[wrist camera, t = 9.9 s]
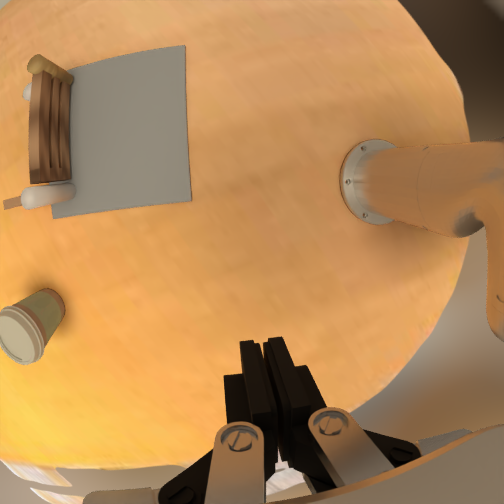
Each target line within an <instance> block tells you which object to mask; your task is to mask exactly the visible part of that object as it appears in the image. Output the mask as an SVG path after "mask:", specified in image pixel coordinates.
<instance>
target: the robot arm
mask: <svg viewBox="0 0 504 504" xmlns="http://www.w3.org/2000/svg"><path fill="white" fill-rule="evenodd" d="M361 148H362V150H361ZM345 180H346V181H347V182H346V183H345ZM340 186H341V193H342V196H343V199H344V201H345V203H346V205H347V207H348V208H349V209H350V211H351V212H352V213H353V214H354V215H355V216H356V217H357V218H359V219H361V220H362V221H364V222H367V223H370V224H375V225H384V224H387V223H391V222H392V221H394V220H397V221H400V222H404V223H407V224H410V225H413V226H417V227H420V228H423V229H426V230H429V231H432V232H435V233H438V234H442V235H445V236H448V237H453V238H462V237H467V236H470V235H472V234H474V233H475V232H477V231H479V230H480V229H481V228H482V227H484V226H485V229H486V238H487V250H488V273H487V299H486V300H487V301H486V313H487V320H488V323H489V326H490V328H491V330H492V332H493V333H494V334H495V335H496V337H498V338H499V339H500V340H501V341H503V342H504V137H501V138H497V139H492V140H486V141H480V142H471V143H459V144H442V145H426V146H412V147H400V148H398V147H396V146H395V145H393V144H392V143H390V142H388V141H385V140H380V139H372V140H367V141H364V142H361V143H359V144H358V145H356V146H355V147H354V148H353V149H352V150H351V151H350V152H349V153H348V155H347V156H346V158H345V160H344V162H343V165H342V168H341V174H340ZM363 214H364V215H363ZM240 354H241V364H242V374H233V375H224V389H225V403H226V416H227V425H225V426H223V427H222V428H221V429H220V430H219V431H218V432H217V434H216V437H215V442H214V448H213V449H212V450H211V451H209V452H208V453H207V454H206V455H204V456H203V457H202V458H200V459H199V460H198V461H197V462H195V463H194V464H193V465H191V466H190V467H189V468H187V469H186V470H185V471H183V472H182V473H180V474H179V475H178V476H176V477H175V478H173V479H172V480H171V481H169V482H168V483H166V484H165V485H164V486H163V487H162V488H161V489H153V490H152V488H151V487H149V488H139V489H127V490H110V491H95V492H91V493H90V494H88V495H87V496H86V497H85V498H84V500H83V504H504V424H498V425H494V426H489V427H486V428H482V429H480V430H477V431H474V432H472V431H470V430H467V429H460V430H456V431H452V432H449V433H446V434H442V435H438V436H434V437H430V438H426V439H422V440H418V441H417V442H416V443H415V444H413V443H410V442H408V441H404V440H400V439H396V438H393V437H389V436H385V435H381V434H378V433H374V432H371V431H367V430H364V429H362V428H361V427H360V426H359V424H358V423H357V422H356V421H355V420H354V418H353V417H352V416H351V415H350V414H349V413H348V412H347V411H345V410H343V409H340V408H335V407H328V408H327V406H326V404H325V402H324V400H323V398H322V396H321V393H320V391H319V389H318V387H317V385H316V383H315V381H314V379H313V377H312V375H311V373H310V371H309V368H308V367H307V366H306V365H302V366H296V367H295V366H294V363H293V361H292V358H291V356H290V354H289V351H288V349H287V347H286V344H285V342H284V339H283V337H274V338H268V342H263V354H264V358H263V355H262V351H261V347H260V344H259V343H254V341H253V340H248V341H240ZM278 449H279V453H280V456H281V460H282V462H284V461H287V462H288V466H289V468H294V469H295V470H297V471H299V472H302V475H303V478H304V480H305V482H306V484H307V486H308V488H309V489H310V491H311V493H312V495H308V496H303V497H298V498H293V499H287V500H282V501H275V502H269V503H266V481H267V480H268V479H269V478H270V477H271V476H272V475H273V474H274V473H275V463H277V462H278Z"/></svg>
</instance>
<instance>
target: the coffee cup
mask: <svg viewBox="0 0 504 504" xmlns="http://www.w3.org/2000/svg"><path fill="white" fill-rule="evenodd" d="M64 314H65V306H64V303H63V301H62V299H61V297H60V296H59V295H58V294H57V293H56V292H55V291H53V290H51V289H43V290H41V291H39V292H37V293H35V294H33V295H31V296H29V297H27V298H25V299H23V300H21V301H19V302H18V303H16V304H14V305H12V306H7V307H4V308H3V309H2V310H1V312H0V346H1V348H2V349H3V351H4V352H5V353H6V354H7V355H8V356H9V357H10V358H11V359H12V360H14V361H15V362H17V363H19V364H22V365H28V364H31V363H34V362H36V361H38V360H39V359H40V358H41V357H42V356H43V353H44V348H45V346H46V345H47V343H48V341H49V340H50V338H51V336H52V335H53V333H54V331H55V330H56V328H57V327H58V325H59V323H60V322H61V320H62V318H63V317H64Z"/></svg>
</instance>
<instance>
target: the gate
mask: <svg viewBox="0 0 504 504" xmlns="http://www.w3.org/2000/svg"><path fill="white" fill-rule="evenodd" d="M27 70H28V72H30V73H32V74H33V77H32V85H31V96H30V111H29V170H30V184H39V183H49V182H59V181H65V180H70V179H71V176H70V160H69V96H70V85H71V83H72V81H73V76H72V75H71V74H70V73H68V72H67V71H65V70H64V69H62V68H61V67H59V66H58V65H56V64H54V63H53V62H51V61H50V60H48V59H46V58H45V57H43V56H42V55H40V54H37V55H35V56H33V57H32V58H31V59H30V61H29V63H28V65H27Z"/></svg>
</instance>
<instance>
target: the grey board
mask: <svg viewBox="0 0 504 504" xmlns="http://www.w3.org/2000/svg"><path fill="white" fill-rule="evenodd" d="M67 72H68V73H70V74H71V75H72V76H73V81H72V83H71V85H70V96H69V160H70V176H71V179H70V180H65V181H59V182H49V185H44V186H36V187H28V188H25V189H24V190H23V192H22V194H21V196H19V197H15V198H11V199H7V200H4V201H3V204H4V210H6V209H10V208H14V207H18V206H23V207H24V208H25V209H28V210H29V209H33V208H37V207H41V206H45V205H50V204H51V207H52V215H53V219H57V218H63V217H69V216H76V215H82V214H89V213H96V212H103V211H110V210H118V209H125V208H133V207H142V206H150V205H159V204H168V203H178V202H188V201H192V197H191V184H190V170H189V154H188V136H187V112H186V74H185V45H182V46H174V47H166V48H159V49H153V50H147V51H142V52H136V53H131V54H127V55H122V56H117V57H113V58H109V59H105V60H101V61H97V62H94V63H90V64H87V65H83V66H80V67H77V68H73V69H70V70H67ZM31 85H32V82H31V83H29V84H28V85H27V86H26V87H25V89H24V91H23V98H24V99H25V100H28V101H30V96H31Z"/></svg>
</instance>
